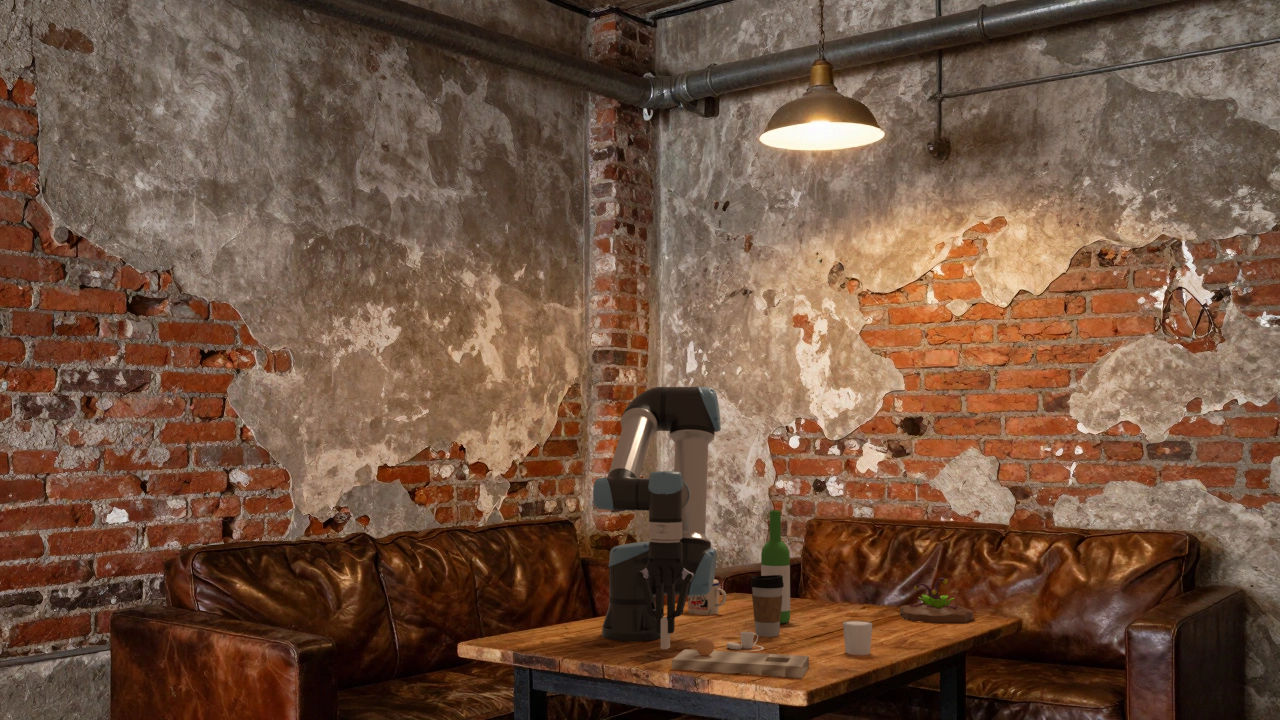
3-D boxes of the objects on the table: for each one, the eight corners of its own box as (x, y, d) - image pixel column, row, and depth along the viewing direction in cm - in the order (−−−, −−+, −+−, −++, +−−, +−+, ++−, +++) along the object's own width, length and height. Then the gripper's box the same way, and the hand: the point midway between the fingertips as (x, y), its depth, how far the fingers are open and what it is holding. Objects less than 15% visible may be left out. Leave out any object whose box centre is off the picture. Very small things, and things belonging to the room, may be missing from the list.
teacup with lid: (681, 613, 327) (681, 572, 328) (698, 609, 335) (698, 569, 336) (717, 617, 320) (717, 575, 321) (734, 613, 328) (734, 572, 329)
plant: (978, 624, 312) (977, 583, 313) (904, 622, 315) (903, 581, 316) (968, 613, 332) (967, 574, 333) (898, 611, 335) (898, 572, 336)
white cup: (852, 649, 276) (851, 619, 276) (878, 652, 271) (877, 622, 272) (837, 653, 270) (837, 623, 271) (863, 657, 266) (863, 626, 266)
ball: (694, 656, 253) (694, 638, 253) (698, 653, 257) (698, 635, 257) (712, 657, 252) (712, 639, 252) (715, 654, 256) (715, 636, 256)
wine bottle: (776, 618, 319) (775, 509, 321) (796, 622, 313) (795, 511, 315) (755, 621, 315) (755, 510, 317) (775, 625, 309) (775, 512, 310)
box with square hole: (672, 671, 250) (672, 659, 250) (684, 660, 261) (684, 649, 261) (801, 678, 242) (801, 666, 243) (808, 667, 254) (808, 655, 254)
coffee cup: (782, 638, 289) (782, 578, 289) (748, 637, 290) (748, 577, 291) (785, 633, 297) (785, 574, 298) (752, 631, 298) (752, 573, 299)
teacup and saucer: (725, 652, 272) (725, 635, 273) (728, 646, 280) (728, 629, 280) (763, 653, 271) (763, 636, 271) (764, 647, 279) (764, 630, 279)
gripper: (632, 541, 256) (632, 649, 255) (690, 543, 253) (690, 652, 251) (641, 538, 263) (641, 643, 262) (697, 540, 260) (697, 646, 258)
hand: (665, 647), depth 257 cm, fingers closed
